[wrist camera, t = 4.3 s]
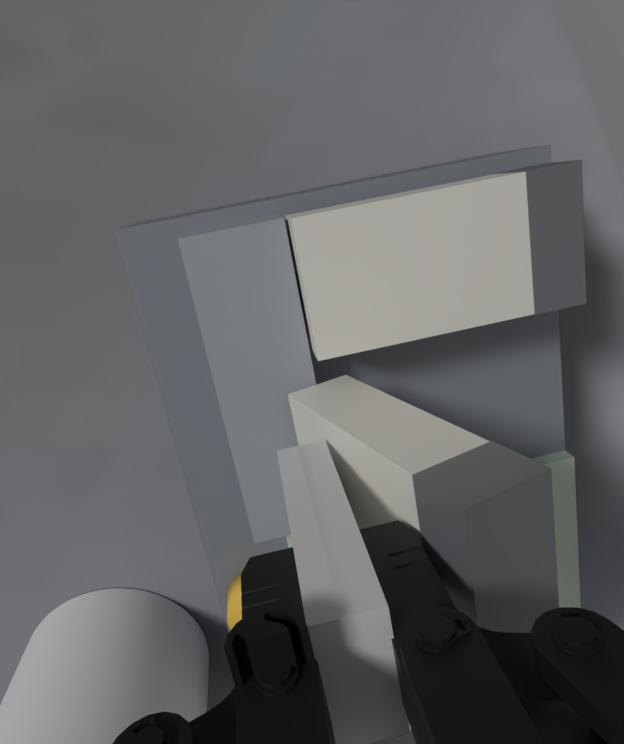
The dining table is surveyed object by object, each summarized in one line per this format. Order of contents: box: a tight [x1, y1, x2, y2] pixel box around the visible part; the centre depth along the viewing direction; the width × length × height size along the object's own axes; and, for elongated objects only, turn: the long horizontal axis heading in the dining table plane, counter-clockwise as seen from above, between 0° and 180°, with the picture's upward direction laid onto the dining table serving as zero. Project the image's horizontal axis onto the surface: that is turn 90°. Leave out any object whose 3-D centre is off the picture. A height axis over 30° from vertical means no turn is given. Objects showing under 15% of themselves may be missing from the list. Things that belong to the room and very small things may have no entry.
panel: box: [114, 145, 586, 730], centre depth 22 cm, size 14×22×7 cm, turn 11°
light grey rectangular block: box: [288, 375, 559, 633], centre depth 15 cm, size 2×4×8 cm, turn 11°
